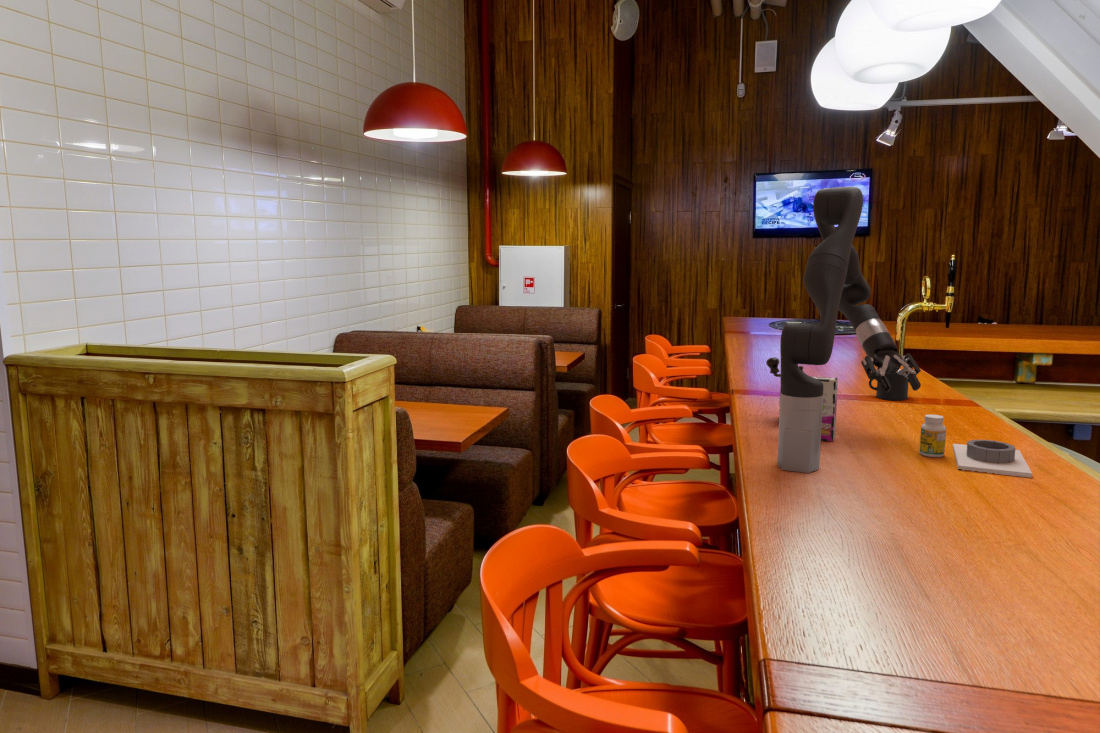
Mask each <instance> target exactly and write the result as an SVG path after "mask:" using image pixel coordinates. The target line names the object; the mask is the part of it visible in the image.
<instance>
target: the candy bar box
mask: <svg viewBox="0 0 1100 733" xmlns="http://www.w3.org/2000/svg"><path fill="white" fill-rule="evenodd" d="M810 376H811V375H810ZM811 377H813V378H815V379H817V380H819V381H821V382H822V383H823V388H824V389H823V406H822V425H821V442H830V443H831V442H834V440H835V438H836V430H837V429H836V426H837V403H838V402H837V401H838V381H839V379H838V377H835V376H834V377H832V376H818V375H817V376H815V375H812V376H811Z"/></svg>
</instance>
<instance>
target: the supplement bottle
mask: <svg viewBox="0 0 1100 733" xmlns="http://www.w3.org/2000/svg"><path fill="white" fill-rule="evenodd" d="M943 423H944V416H943V415H939V414H925V415H924V423H922V424H921V426H920V437H919V438H920V439H919V440H920V441H919V454H920V455H921V456H924V457H927V458H928V457H929V458H943V457H944V455H945V448H946V436H947V427H946V425H944V424H943Z"/></svg>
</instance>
